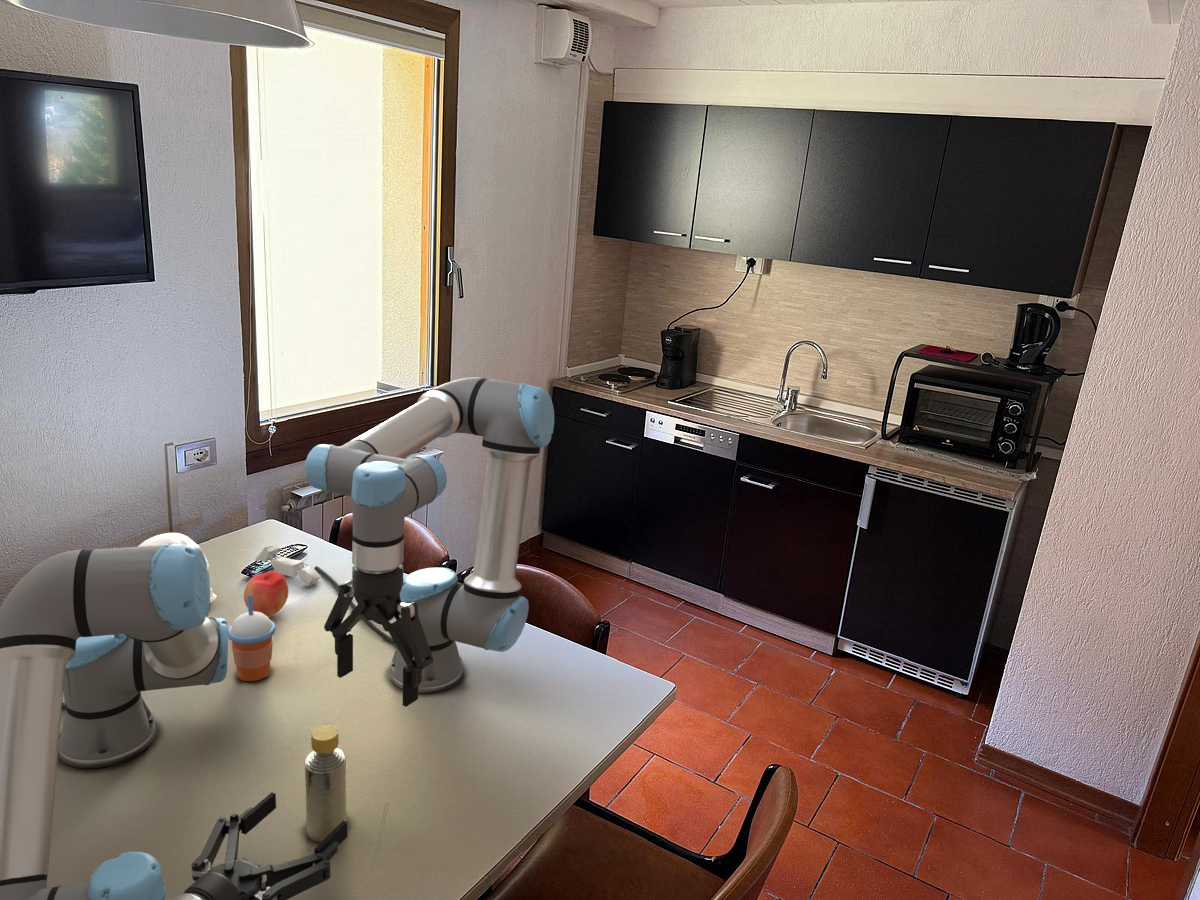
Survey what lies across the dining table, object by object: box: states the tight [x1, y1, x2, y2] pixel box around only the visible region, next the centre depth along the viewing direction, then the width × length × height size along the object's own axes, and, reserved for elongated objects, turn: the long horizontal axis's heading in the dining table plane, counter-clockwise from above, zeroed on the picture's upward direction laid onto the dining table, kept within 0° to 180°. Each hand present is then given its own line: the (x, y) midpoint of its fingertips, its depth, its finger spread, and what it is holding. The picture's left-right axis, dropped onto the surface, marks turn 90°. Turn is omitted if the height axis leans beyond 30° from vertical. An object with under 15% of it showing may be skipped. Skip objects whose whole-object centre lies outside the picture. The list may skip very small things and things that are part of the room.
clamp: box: [254, 544, 322, 587], centre depth 219 cm, size 20×4×7 cm, turn 62°
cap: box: [310, 724, 339, 754], centre depth 133 cm, size 4×4×2 cm
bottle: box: [304, 747, 347, 843], centre depth 135 cm, size 6×6×18 cm
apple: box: [243, 570, 289, 618], centre depth 199 cm, size 10×10×10 cm
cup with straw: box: [228, 594, 276, 682], centre depth 175 cm, size 9×9×18 cm
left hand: (309, 813), depth 132 cm, fingers open, 13 cm apart
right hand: (377, 687), depth 135 cm, fingers open, 13 cm apart
